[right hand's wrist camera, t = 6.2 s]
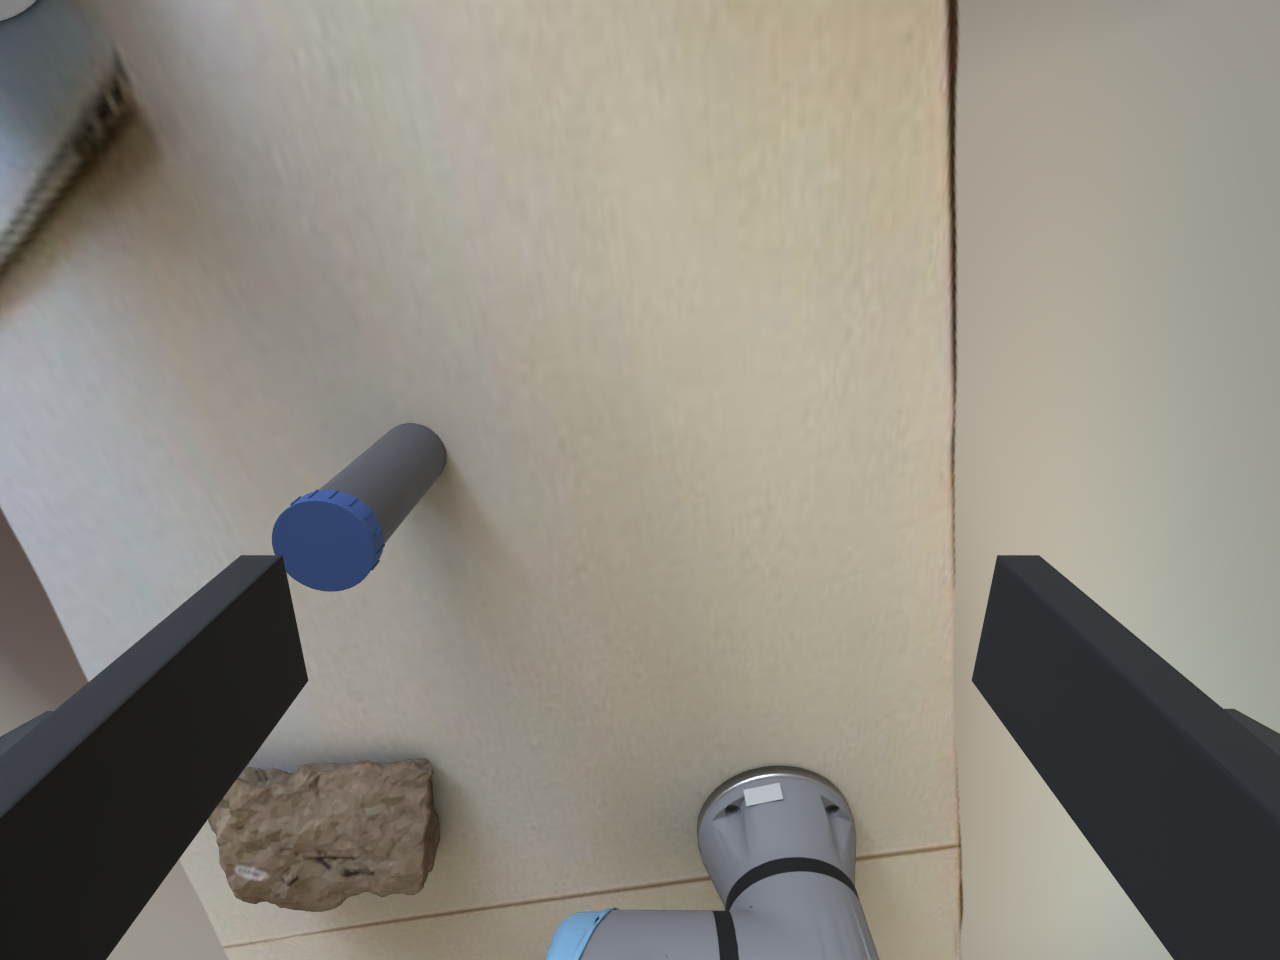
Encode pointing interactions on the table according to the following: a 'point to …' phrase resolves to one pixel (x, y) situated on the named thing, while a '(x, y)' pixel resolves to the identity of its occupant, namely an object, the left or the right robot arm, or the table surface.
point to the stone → (327, 833)
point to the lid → (328, 540)
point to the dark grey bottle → (393, 473)
